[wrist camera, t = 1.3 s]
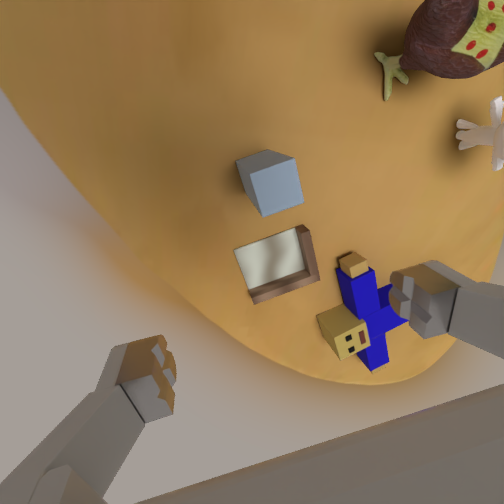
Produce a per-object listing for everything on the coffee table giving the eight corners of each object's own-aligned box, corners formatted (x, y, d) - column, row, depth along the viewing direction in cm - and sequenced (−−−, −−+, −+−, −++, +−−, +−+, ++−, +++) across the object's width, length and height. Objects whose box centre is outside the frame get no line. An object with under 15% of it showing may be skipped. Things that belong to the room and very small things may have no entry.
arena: (251, 294, 48) (254, 304, 45) (233, 249, 43) (235, 257, 41) (313, 271, 48) (320, 280, 46) (302, 224, 44) (309, 230, 41)
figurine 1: (437, 97, 39) (637, 72, 21) (346, 103, 37) (482, 82, 19) (457, 1, 34) (739, -135, 16) (354, 3, 32) (545, -149, 14)
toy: (458, 339, 57) (351, 395, 56) (431, 319, 64) (334, 369, 62) (462, 221, 44) (320, 291, 42) (427, 210, 50) (302, 271, 48)
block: (245, 193, 40) (262, 217, 29) (235, 160, 37) (249, 174, 27) (276, 182, 40) (304, 202, 29) (267, 149, 38) (294, 158, 27)
